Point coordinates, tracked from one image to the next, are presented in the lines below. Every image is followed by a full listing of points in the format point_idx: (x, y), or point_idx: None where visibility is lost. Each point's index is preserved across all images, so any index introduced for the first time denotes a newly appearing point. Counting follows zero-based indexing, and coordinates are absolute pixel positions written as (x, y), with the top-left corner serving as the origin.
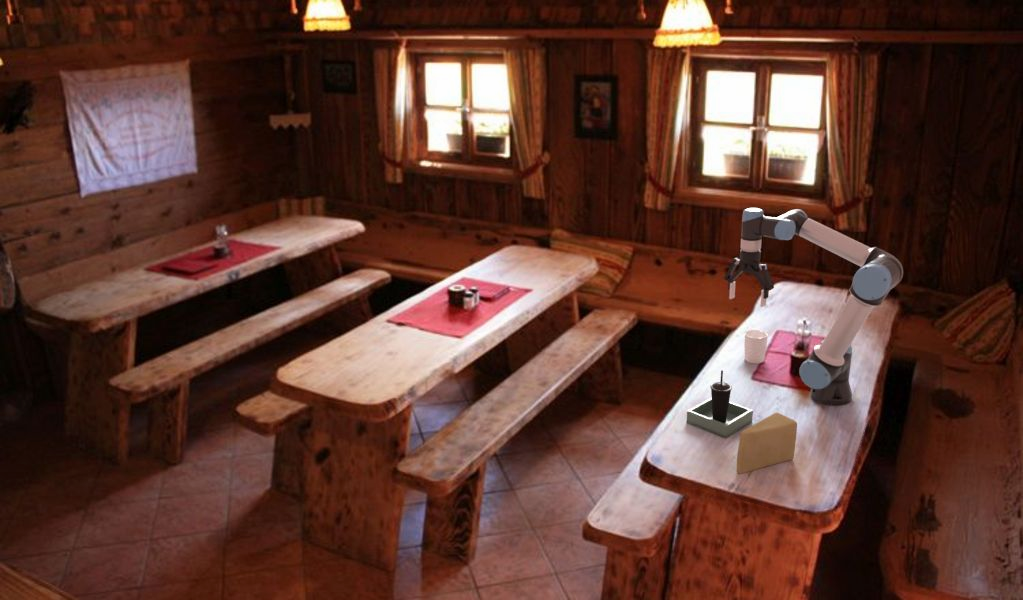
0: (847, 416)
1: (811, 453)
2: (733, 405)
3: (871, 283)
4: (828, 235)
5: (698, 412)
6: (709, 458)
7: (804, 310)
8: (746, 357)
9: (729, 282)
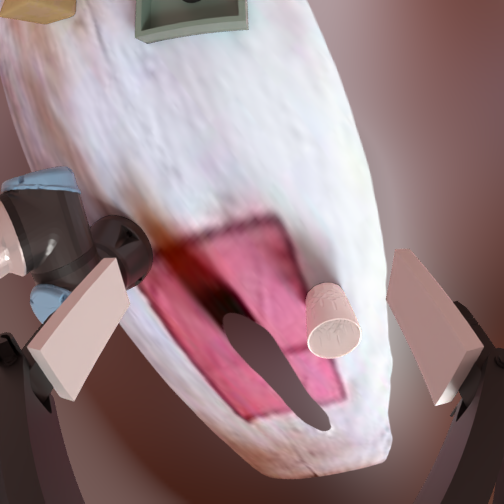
0: None
1: (35, 59)
2: (182, 23)
3: None
4: None
5: None
6: None
7: (339, 443)
8: (336, 288)
9: (489, 355)
